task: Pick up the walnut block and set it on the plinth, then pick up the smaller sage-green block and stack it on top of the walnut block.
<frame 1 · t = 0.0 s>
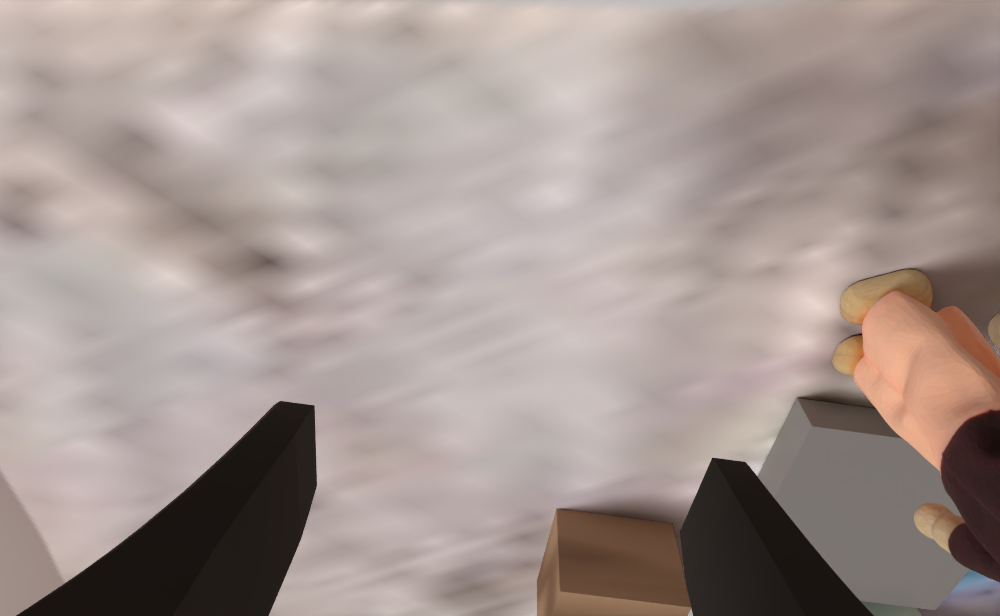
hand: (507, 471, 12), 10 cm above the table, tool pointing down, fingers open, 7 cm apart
grandmother figurine: (879, 311, 21), on the table
walnut block: (601, 550, 28), on the table
plinth: (862, 497, 26), on the table
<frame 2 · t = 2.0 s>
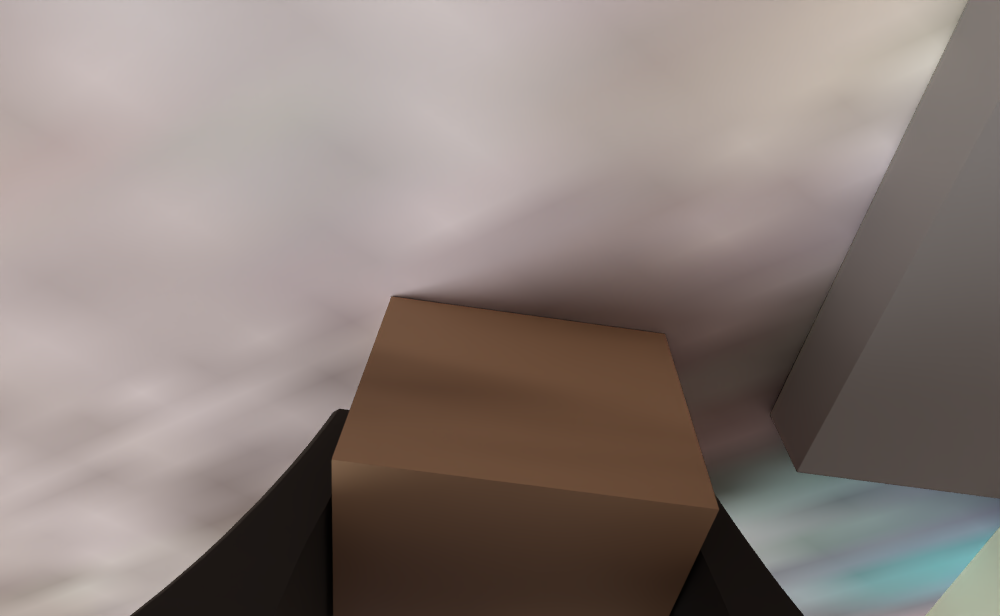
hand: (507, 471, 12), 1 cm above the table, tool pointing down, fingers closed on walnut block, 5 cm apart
walnut block: (509, 418, 13), on the table, touching gripper
when the fingers open (4 cm above the table, at t = 5.1 s): walnut block stays where it is, resting on plinth.
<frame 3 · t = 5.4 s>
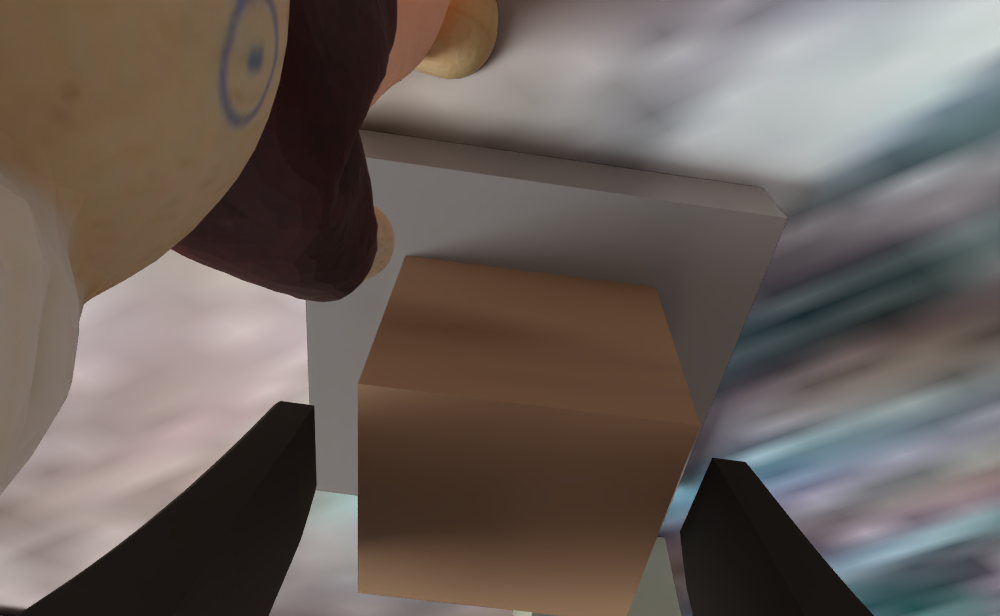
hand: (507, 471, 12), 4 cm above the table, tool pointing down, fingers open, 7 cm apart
sage block: (585, 569, 20), on the table
walnut block: (514, 370, 14), point 1 cm above the table, touching plinth
plinth: (513, 337, 15), on the table
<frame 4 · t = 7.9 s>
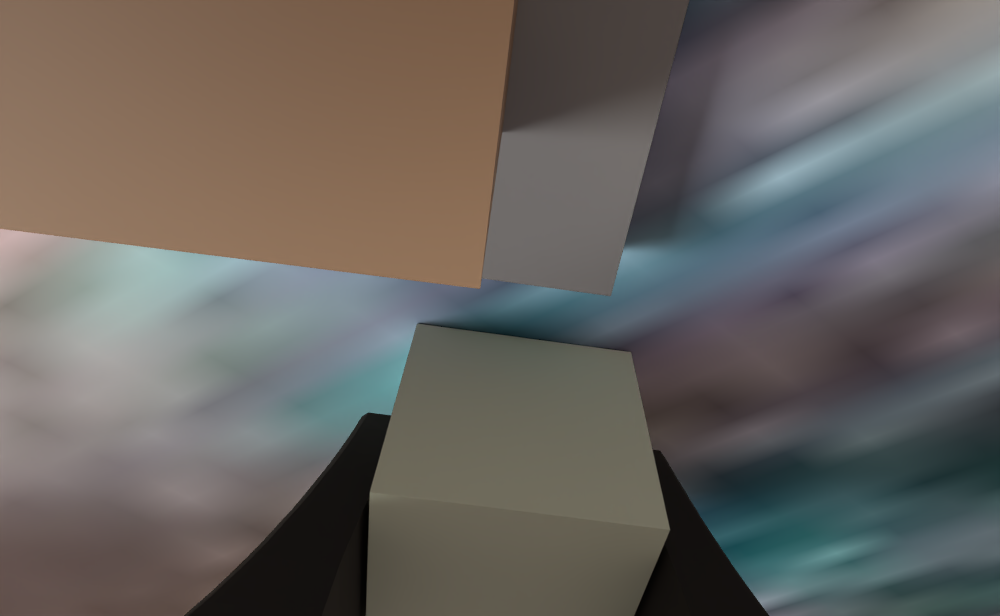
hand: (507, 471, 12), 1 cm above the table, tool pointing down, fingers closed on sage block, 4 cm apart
sage block: (509, 418, 13), on the table, touching gripper
when the fingers open (8 cm above the table, at t = 10.2 s): sage block stays where it is, resting on walnut block.
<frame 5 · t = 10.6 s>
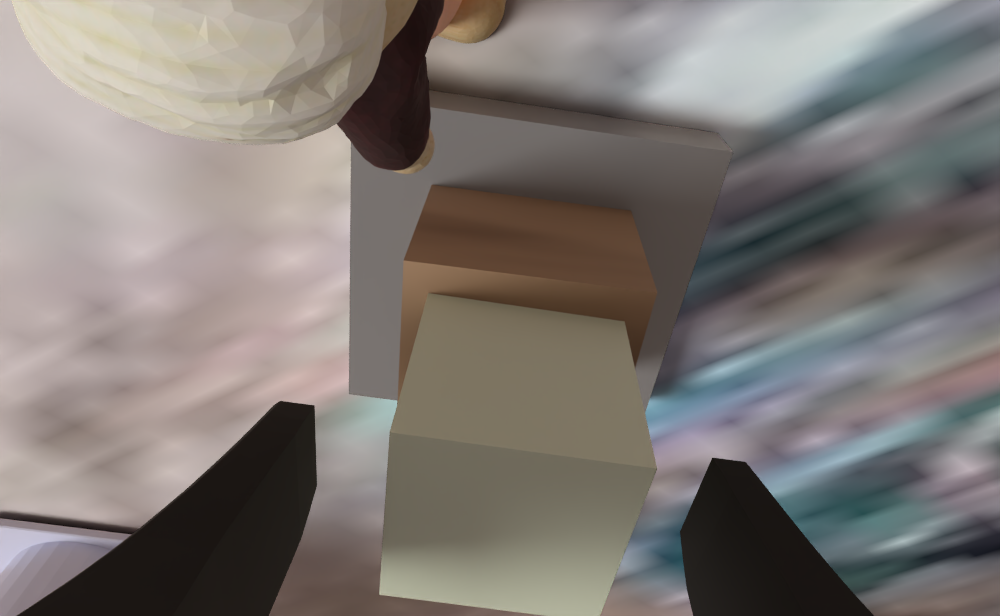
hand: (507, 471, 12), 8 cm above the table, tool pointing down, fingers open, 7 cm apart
sage block: (511, 384, 14), point 5 cm above the table, touching walnut block
walnut block: (518, 284, 17), point 1 cm above the table, touching plinth, sage block
plinth: (517, 262, 18), on the table
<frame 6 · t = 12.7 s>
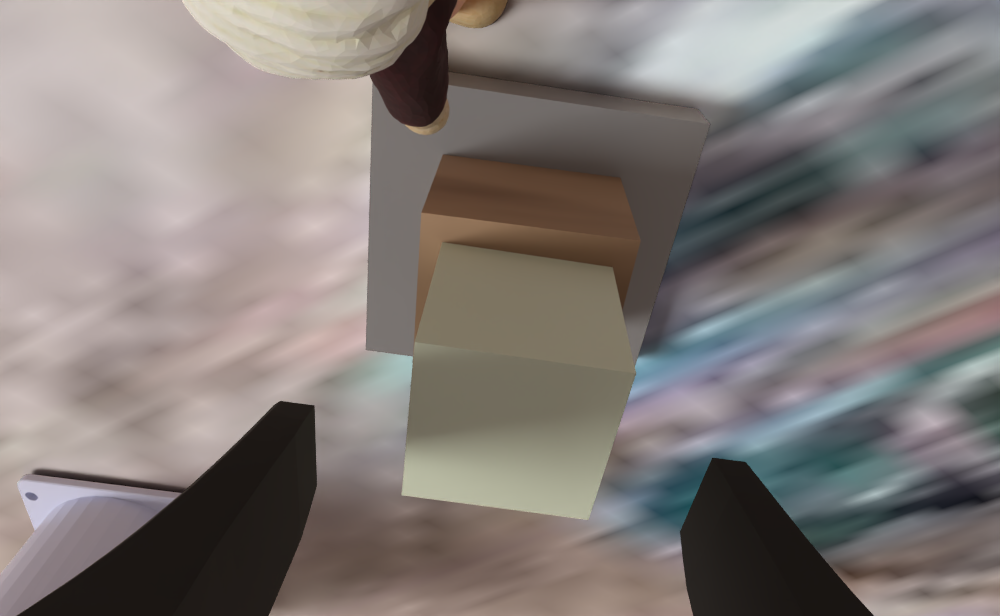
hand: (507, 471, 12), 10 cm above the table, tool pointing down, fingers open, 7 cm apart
sage block: (514, 325, 16), point 5 cm above the table, touching walnut block
walnut block: (519, 245, 19), point 1 cm above the table, touching plinth, sage block
plinth: (518, 229, 20), on the table
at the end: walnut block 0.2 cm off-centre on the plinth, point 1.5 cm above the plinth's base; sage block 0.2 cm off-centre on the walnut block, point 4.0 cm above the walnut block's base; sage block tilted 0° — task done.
